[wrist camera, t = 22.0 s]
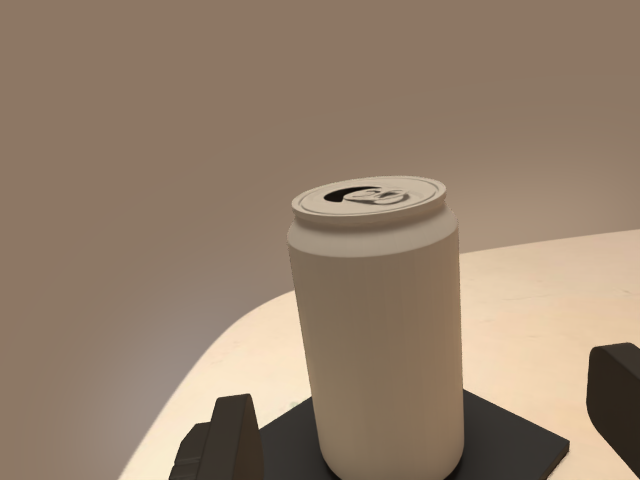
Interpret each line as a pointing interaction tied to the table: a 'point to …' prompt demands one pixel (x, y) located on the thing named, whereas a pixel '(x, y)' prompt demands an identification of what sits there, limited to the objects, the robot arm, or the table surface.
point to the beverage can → (381, 325)
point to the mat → (468, 476)
